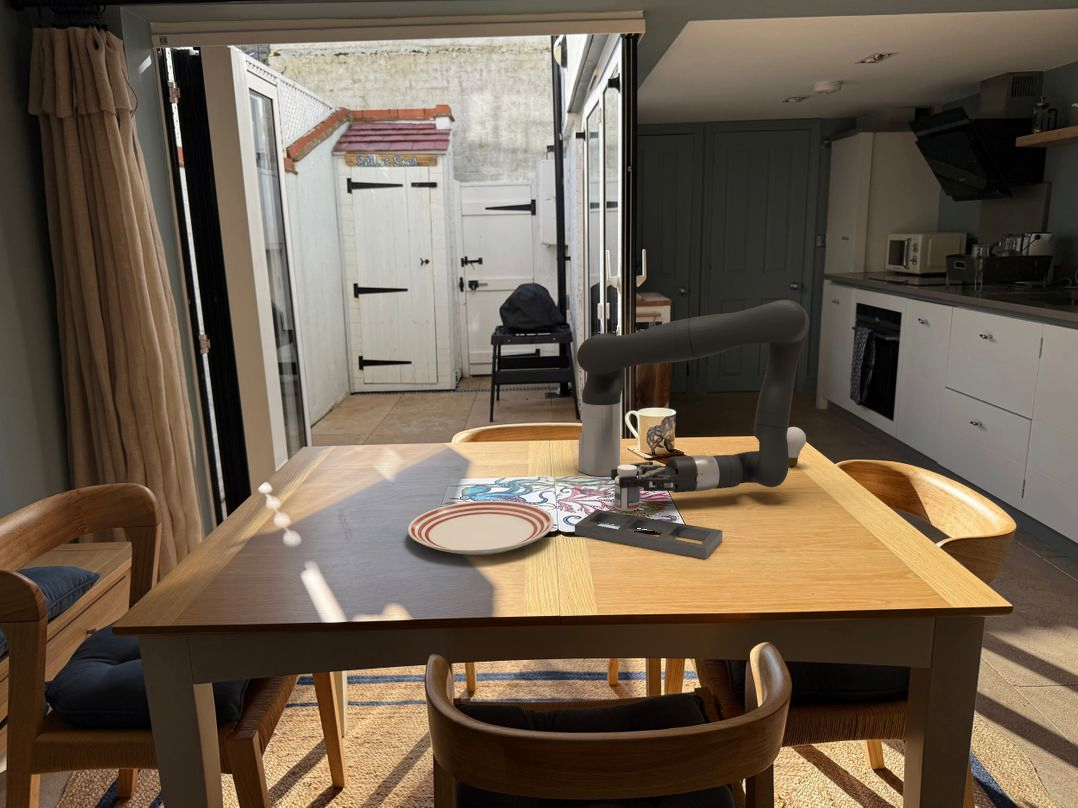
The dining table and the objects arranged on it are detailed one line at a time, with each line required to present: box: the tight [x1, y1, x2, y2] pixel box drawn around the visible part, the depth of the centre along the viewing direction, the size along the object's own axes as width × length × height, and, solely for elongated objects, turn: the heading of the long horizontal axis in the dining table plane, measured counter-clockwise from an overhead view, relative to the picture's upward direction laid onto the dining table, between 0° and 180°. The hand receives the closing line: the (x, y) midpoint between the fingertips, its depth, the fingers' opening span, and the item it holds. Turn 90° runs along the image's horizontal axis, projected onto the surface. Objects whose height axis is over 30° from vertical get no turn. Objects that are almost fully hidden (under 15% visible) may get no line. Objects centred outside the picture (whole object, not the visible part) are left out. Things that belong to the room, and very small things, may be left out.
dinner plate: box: [407, 500, 555, 556], centre depth 150 cm, size 27×27×3 cm
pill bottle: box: [613, 464, 641, 512], centre depth 165 cm, size 5×5×9 cm
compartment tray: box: [574, 509, 724, 560], centre depth 149 cm, size 26×10×2 cm, turn 61°
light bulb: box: [787, 426, 807, 468], centre depth 193 cm, size 6×6×10 cm
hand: (615, 478), depth 164 cm, fingers closed on pill bottle, 5 cm apart
